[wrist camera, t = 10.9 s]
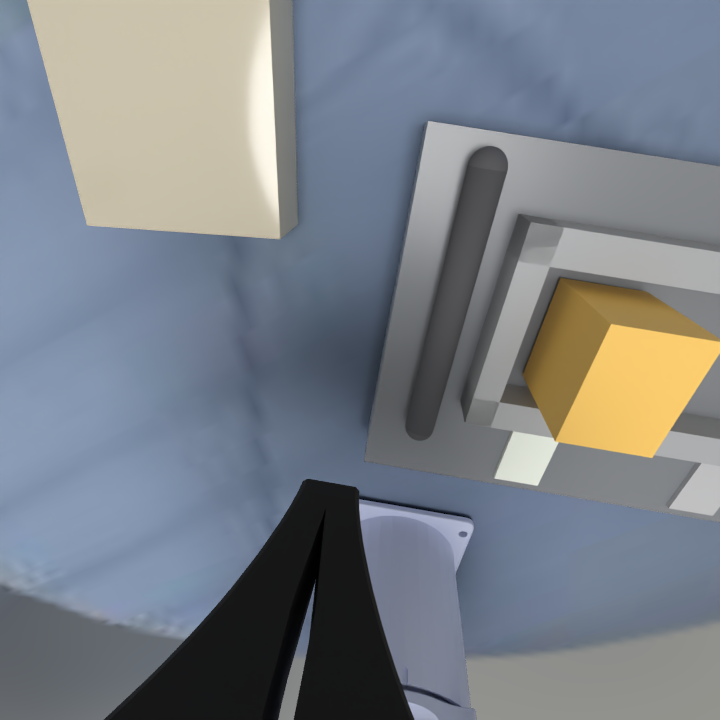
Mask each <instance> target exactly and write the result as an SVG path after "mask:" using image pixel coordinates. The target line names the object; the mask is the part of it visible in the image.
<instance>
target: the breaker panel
mask: <svg viewBox="0 0 720 720" xmlns="http://www.w3.org/2000/svg"><path fill="white" fill-rule="evenodd" d="M486 146H494V147H497V148H499V149H501V150H502V151H503V152H504V153H505V155H506V157H507V160H508V171H507V175H506V178H505V182H504V185H503V189H502V192H501V196H500V199H499V203H498V206H497V210H496V213H495V217H494V220H493V224H492V227H491V231H490V234H489V238H488V241H487V245H486V248H485V252H484V255H483V259H482V262H481V266H480V269H479V273H478V276H477V280H476V283H475V287H474V290H473V294H472V297H471V301H470V304H469V308H468V311H467V315H466V318H465V322H464V325H463V329H462V332H461V336H460V339H459V343H458V346H457V350H456V353H455V357H454V360H453V364H452V367H451V371H450V374H449V378H448V381H447V385H446V388H445V392H444V395H443V399H442V402H441V406H440V409H439V413H438V416H437V420H436V423H435V427H434V430H433V433H432V435H431V436H430V437H429V438H428V439H426V440H423V441H416V440H414V439H412V438H410V437H409V435H408V434H407V432H406V429H405V424H406V419H407V415H408V411H409V407H410V402H411V398H412V394H413V390H414V386H415V382H416V377H417V373H418V369H419V365H420V361H421V357H422V352H423V348H424V344H425V340H426V336H427V332H428V327H429V323H430V319H431V315H432V311H433V307H434V302H435V298H436V294H437V290H438V286H439V282H440V277H441V273H442V269H443V265H444V261H445V257H446V252H447V248H448V244H449V240H450V236H451V232H452V227H453V223H454V219H455V215H456V211H457V207H458V202H459V198H460V194H461V190H462V186H463V182H464V177H465V173H466V169H467V165H468V162H469V160H470V158H471V156H472V155H473V154H474V153H475V152H476V151H477V150H479V149H480V148H483V147H486ZM560 278H565V279H571V280H577V281H584V282H590V283H596V284H602V285H608V286H615V287H621V288H627V289H633V290H639V291H646V292H648V293H650V294H651V295H653V296H654V297H656V298H658V299H659V300H661V301H662V302H664V303H665V304H667V305H668V306H670V307H671V308H673V309H675V310H676V311H678V312H679V313H681V314H682V315H684V316H685V317H687V318H688V319H690V320H692V321H693V322H695V323H696V324H698V325H699V326H701V327H702V328H704V329H706V330H707V331H709V332H710V333H712V334H713V335H715V336H716V337H718V338H719V339H720V166H714V165H708V164H701V163H695V162H689V161H682V160H676V159H669V158H663V157H656V156H650V155H644V154H637V153H631V152H624V151H618V150H611V149H605V148H599V147H592V146H586V145H579V144H573V143H566V142H560V141H554V140H547V139H541V138H534V137H528V136H522V135H515V134H509V133H502V132H496V131H489V130H483V129H477V128H470V127H464V126H457V125H451V124H444V123H438V122H432V121H427V122H426V123H425V125H424V130H423V135H422V141H421V146H420V152H419V157H418V162H417V168H416V173H415V179H414V184H413V189H412V195H411V200H410V206H409V211H408V216H407V222H406V227H405V233H404V238H403V243H402V249H401V254H400V260H399V265H398V270H397V276H396V281H395V287H394V292H393V297H392V303H391V308H390V314H389V319H388V324H387V330H386V335H385V341H384V346H383V351H382V357H381V362H380V368H379V373H378V378H377V384H376V389H375V395H374V400H373V405H372V411H371V416H370V422H369V427H368V434H367V442H366V450H365V458H364V461H365V462H371V463H376V464H382V465H388V466H394V467H400V468H406V469H411V470H417V471H423V472H429V473H435V474H441V475H446V476H452V477H458V478H464V479H470V480H476V481H481V482H487V483H493V484H499V485H505V486H511V487H516V488H522V489H528V490H534V491H540V492H546V493H551V494H557V495H563V496H569V497H575V498H581V499H586V500H592V501H598V502H604V503H610V504H616V505H621V506H627V507H633V508H639V509H645V510H651V511H656V512H662V513H668V514H674V515H680V516H686V517H691V518H697V519H703V520H709V521H715V522H720V354H719V355H718V357H717V358H716V360H715V361H714V363H713V365H712V366H711V368H710V369H709V371H708V372H707V374H706V375H705V377H704V379H703V380H702V382H701V383H700V385H699V386H698V388H697V389H696V391H695V392H694V394H693V396H692V397H691V399H690V400H689V402H688V403H687V405H686V406H685V408H684V409H683V411H682V413H681V414H680V416H679V417H678V419H677V420H676V422H675V423H674V425H673V427H672V428H671V430H670V431H669V433H668V434H667V436H666V437H665V439H664V440H663V442H662V444H661V445H660V447H659V448H658V450H657V451H656V453H655V454H654V456H653V457H652V458H649V457H643V456H637V455H631V454H626V453H620V452H614V451H608V450H602V449H596V448H590V447H584V446H578V445H572V444H566V443H561V442H555V441H554V439H553V436H552V434H551V432H550V430H549V428H548V426H547V424H546V422H545V420H544V418H543V416H542V414H541V412H540V410H539V408H538V406H537V404H536V402H535V400H534V398H533V396H532V394H531V392H530V390H529V387H528V385H527V383H526V381H525V379H524V377H523V373H524V370H525V368H526V365H527V363H528V360H529V357H530V355H531V352H532V350H533V347H534V345H535V342H536V339H537V337H538V334H539V332H540V329H541V327H542V324H543V321H544V319H545V316H546V314H547V311H548V309H549V306H550V303H551V301H552V298H553V296H554V293H555V291H556V288H557V285H558V283H559V280H560Z"/></svg>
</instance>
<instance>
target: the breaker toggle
mask: <svg viewBox="0 0 720 720" xmlns="http://www.w3.org/2000/svg"><path fill="white" fill-rule="evenodd" d="M719 354H720V339H719V338H718V337H716V336H715V335H713V334H712V333H710V332H709V331H707V330H706V329H704V328H702V327H701V326H699V325H698V324H696V323H695V322H693V321H692V320H690V319H688V318H687V317H685V316H684V315H682V314H681V313H679V312H678V311H676V310H675V309H673V308H671V307H670V306H668V305H667V304H665V303H664V302H662V301H661V300H659V299H658V298H656V297H654V296H653V295H651V294H650V293H648V292H646V291H639V290H633V289H627V288H621V287H615V286H608V285H602V284H596V283H590V282H584V281H577V280H571V279H565V278H560V280H559V283H558V285H557V288H556V291H555V293H554V296H553V298H552V301H551V303H550V306H549V309H548V311H547V314H546V316H545V319H544V321H543V324H542V327H541V329H540V332H539V334H538V337H537V339H536V342H535V345H534V347H533V350H532V352H531V355H530V357H529V360H528V363H527V365H526V368H525V370H524V373H523V377H524V379H525V381H526V383H527V385H528V387H529V390H530V392H531V394H532V396H533V398H534V400H535V402H536V404H537V406H538V408H539V410H540V412H541V414H542V416H543V418H544V420H545V422H546V424H547V426H548V428H549V430H550V432H551V434H552V436H553V439H554V441H555V442H561V443H566V444H572V445H578V446H584V447H590V448H596V449H602V450H608V451H614V452H620V453H626V454H631V455H637V456H643V457H649V458H652V457H653V456H654V454H655V453H656V451H657V450H658V448H659V447H660V445H661V444H662V442H663V440H664V439H665V437H666V436H667V434H668V433H669V431H670V430H671V428H672V427H673V425H674V423H675V422H676V420H677V419H678V417H679V416H680V414H681V413H682V411H683V409H684V408H685V406H686V405H687V403H688V402H689V400H690V399H691V397H692V396H693V394H694V392H695V391H696V389H697V388H698V386H699V385H700V383H701V382H702V380H703V379H704V377H705V375H706V374H707V372H708V371H709V369H710V368H711V366H712V365H713V363H714V361H715V360H716V358H717V357H718V355H719Z"/></svg>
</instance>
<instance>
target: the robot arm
mask: <svg viewBox="0 0 720 720" xmlns="http://www.w3.org/2000/svg"><path fill="white" fill-rule="evenodd" d="M473 530H474V525H473V521H472V520H471V519H469V518H465V517H459V516H454V515H448V514H442V513H436V512H431V511H425V510H419V509H413V508H408V507H402V506H396V505H390V504H384V503H379V502H373V501H367V500H361V499H359V490H358V489H357V488H356V487H352V486H346V485H340V484H335V483H329V482H323V481H317V480H311V479H307V480H305V481H303V482H302V485H301V487H300V489H299V491H298V493H297V495H296V497H295V498H294V500H293V502H292V504H291V505H290V507H289V509H288V510H287V512H286V514H285V515H284V517H283V518H282V520H281V522H280V523H279V525H278V526H277V528H276V529H275V530H274V532H273V533H272V535H271V536H270V538H269V539H268V541H267V542H266V543H265V545H264V546H263V548H262V549H261V551H260V552H259V553H258V555H257V556H256V557H255V559H254V560H253V561H252V562H251V564H250V565H249V566H248V568H247V569H246V570H245V571H244V573H243V574H242V575H241V576H240V578H239V579H238V580H237V582H236V583H235V584H234V585H233V587H232V588H231V589H230V590H229V591H228V593H227V594H226V595H225V596H224V597H223V599H222V600H221V601H220V602H219V603H218V604H217V606H216V607H215V608H214V609H213V610H212V611H211V612H210V614H209V615H208V616H207V617H206V618H205V619H204V620H203V621H202V623H201V624H200V625H199V626H198V627H197V628H196V629H195V630H194V631H193V632H192V633H191V634H190V636H189V637H188V638H187V639H186V640H185V641H184V642H183V643H182V644H181V645H180V646H179V647H178V648H177V650H175V651H174V652H173V653H172V655H170V657H169V658H168V659H167V660H166V661H165V662H164V663H163V664H162V665H161V666H160V667H159V668H158V669H157V670H156V671H155V672H154V673H153V674H152V675H151V676H150V677H149V678H148V679H147V680H146V681H145V682H144V683H142V684H141V686H139V687H138V688H137V689H136V690H135V691H134V692H133V693H132V694H131V695H130V696H129V697H128V698H126V699H125V700H124V701H123V702H122V703H121V704H120V705H119V706H118V707H117V708H116V709H115V710H114V711H113V712H112V713H111V714H110V715H108V716H107V717H106V718H105V719H104V720H278V718H279V713H280V708H281V703H282V699H283V695H284V691H285V687H286V683H287V679H288V675H289V672H290V668H291V665H292V661H293V658H294V654H295V651H296V647H297V644H298V640H299V637H300V633H301V630H302V626H303V623H304V619H305V616H306V612H307V609H308V605H309V602H310V598H311V595H312V591H313V587H314V584H315V580H316V584H315V593H314V602H313V611H312V620H311V629H310V638H309V645H308V650H307V655H306V660H305V665H304V671H303V676H302V681H301V686H300V691H299V696H298V701H297V706H296V711H295V716H294V720H477V717H476V711H475V709H473V708H471V704H470V695H469V686H468V679H467V669H466V660H465V651H464V643H463V634H462V625H461V616H460V608H459V599H458V590H457V582H456V572H457V569H458V567H459V564H460V562H461V559H462V557H463V554H464V552H465V549H466V547H467V545H468V542H469V540H470V537H471V535H472V532H473ZM461 531H464V532H461Z"/></svg>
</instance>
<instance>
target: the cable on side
mask: <svg viewBox="0 0 720 720" xmlns="http://www.w3.org/2000/svg"><path fill="white" fill-rule="evenodd" d="M507 171H508V160H507V157H506V155H505V153H504V152H503V151H502V150H501V149H499V148H497V147H494V146H486V147H483V148H480V149H479V150H477V151H476V152H475V153H474V154H473V155H472V156H471V158H470V160H469V162H468V165H467V169H466V173H465V177H464V182H463V186H462V190H461V194H460V198H459V202H458V207H457V211H456V215H455V219H454V223H453V227H452V232H451V236H450V240H449V244H448V248H447V252H446V257H445V261H444V265H443V269H442V273H441V277H440V282H439V286H438V290H437V294H436V298H435V302H434V307H433V311H432V315H431V319H430V323H429V327H428V332H427V336H426V340H425V344H424V348H423V352H422V357H421V361H420V365H419V369H418V373H417V377H416V382H415V386H414V390H413V394H412V398H411V402H410V407H409V411H408V415H407V419H406V424H405V429H406V432H407V434H408V435H409V437H410V438H412V439H414V440H416V441H423V440H426V439H428V438H429V437H430V436H431V435H432V433H433V430H434V427H435V423H436V420H437V416H438V413H439V409H440V406H441V402H442V399H443V395H444V392H445V388H446V385H447V381H448V378H449V374H450V371H451V367H452V364H453V360H454V357H455V353H456V350H457V346H458V343H459V339H460V336H461V332H462V329H463V325H464V322H465V318H466V315H467V311H468V308H469V304H470V301H471V297H472V294H473V290H474V287H475V283H476V280H477V276H478V273H479V269H480V266H481V262H482V259H483V255H484V252H485V248H486V245H487V241H488V238H489V234H490V231H491V227H492V224H493V220H494V217H495V213H496V210H497V206H498V203H499V199H500V196H501V192H502V189H503V185H504V182H505V178H506V175H507Z"/></svg>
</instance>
